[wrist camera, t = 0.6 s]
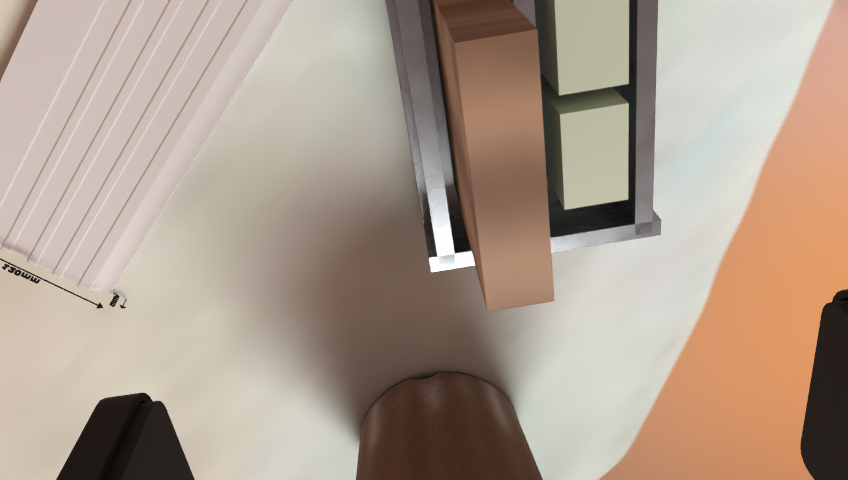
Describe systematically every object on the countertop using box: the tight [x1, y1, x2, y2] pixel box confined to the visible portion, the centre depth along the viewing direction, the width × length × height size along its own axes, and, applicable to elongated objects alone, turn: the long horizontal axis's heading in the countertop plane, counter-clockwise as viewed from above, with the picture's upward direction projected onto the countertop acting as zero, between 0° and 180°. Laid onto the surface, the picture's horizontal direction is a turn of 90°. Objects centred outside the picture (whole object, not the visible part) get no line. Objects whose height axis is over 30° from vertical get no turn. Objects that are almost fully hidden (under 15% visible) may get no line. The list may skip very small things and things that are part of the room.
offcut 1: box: [534, 0, 629, 95], centre depth 35 cm, size 6×4×5 cm, turn 8°
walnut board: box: [429, 0, 554, 312], centre depth 33 cm, size 12×3×13 cm, turn 8°
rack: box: [386, 0, 661, 272], centre depth 37 cm, size 18×14×5 cm
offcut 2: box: [541, 83, 629, 210], centre depth 38 cm, size 6×4×5 cm, turn 8°
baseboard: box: [0, 0, 293, 308], centre depth 37 cm, size 31×3×12 cm
